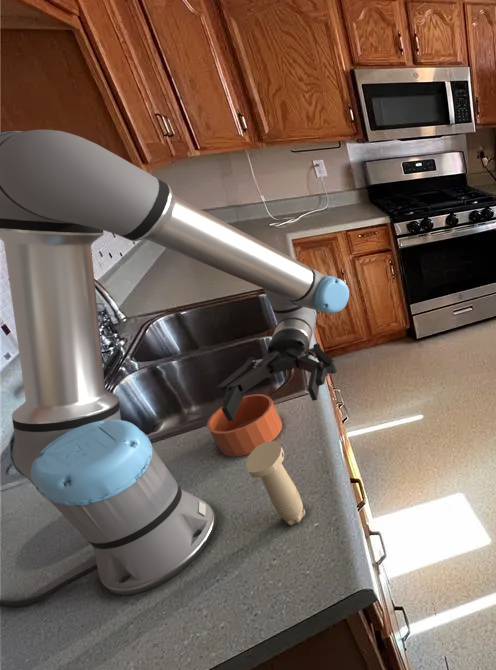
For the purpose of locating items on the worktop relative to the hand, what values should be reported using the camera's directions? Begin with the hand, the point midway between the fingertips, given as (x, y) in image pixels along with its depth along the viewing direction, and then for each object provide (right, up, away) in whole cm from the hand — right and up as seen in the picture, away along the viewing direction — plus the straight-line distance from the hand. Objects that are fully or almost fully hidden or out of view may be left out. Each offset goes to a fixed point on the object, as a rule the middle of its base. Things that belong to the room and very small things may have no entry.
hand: (270, 404), depth 71 cm
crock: (-16, -11, +20) cm, 27 cm away
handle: (+4, -20, 0) cm, 20 cm away
